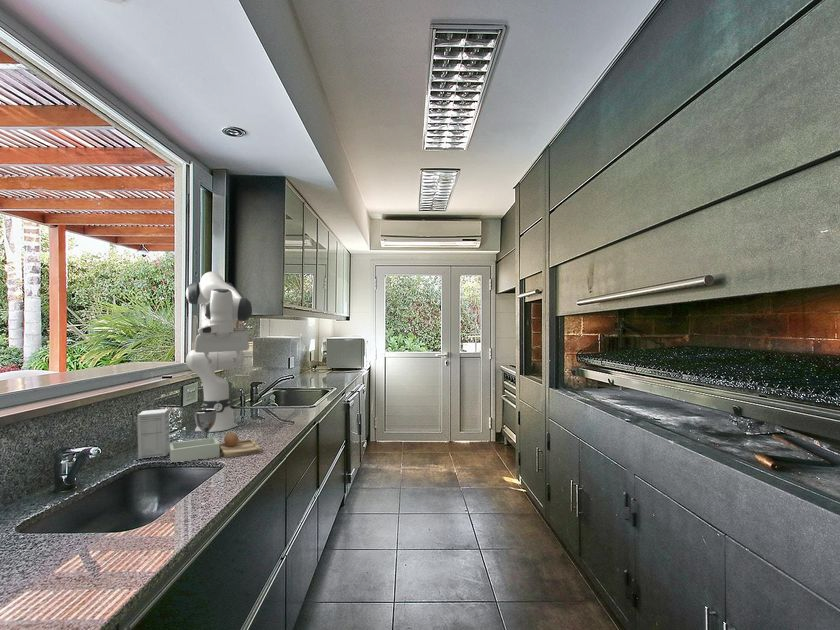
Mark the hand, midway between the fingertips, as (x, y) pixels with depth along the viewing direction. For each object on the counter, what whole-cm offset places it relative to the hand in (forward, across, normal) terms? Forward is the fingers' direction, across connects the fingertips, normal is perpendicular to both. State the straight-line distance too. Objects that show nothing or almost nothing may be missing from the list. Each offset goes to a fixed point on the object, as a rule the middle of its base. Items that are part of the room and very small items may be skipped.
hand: (222, 363), depth 186 cm
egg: (+31, -3, +6) cm, 31 cm away
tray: (+34, -5, +7) cm, 35 cm away
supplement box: (+34, +24, -4) cm, 42 cm away
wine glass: (+34, +6, -4) cm, 35 cm away
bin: (+34, +11, +7) cm, 37 cm away
